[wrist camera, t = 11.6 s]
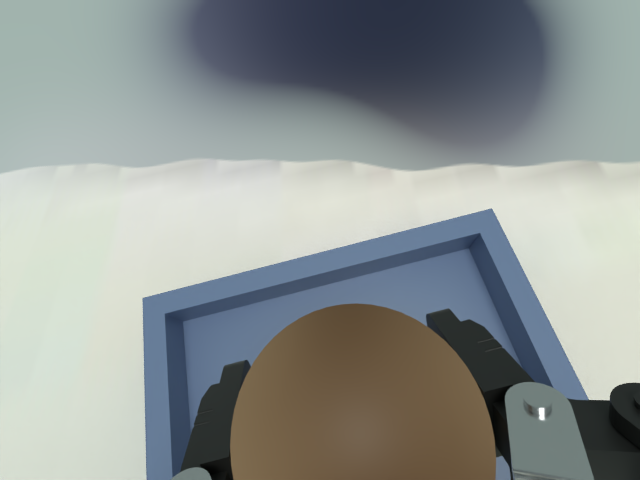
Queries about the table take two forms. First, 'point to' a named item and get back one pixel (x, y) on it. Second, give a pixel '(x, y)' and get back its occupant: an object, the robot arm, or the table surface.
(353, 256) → the tray
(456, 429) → the pin
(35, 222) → the table surface
